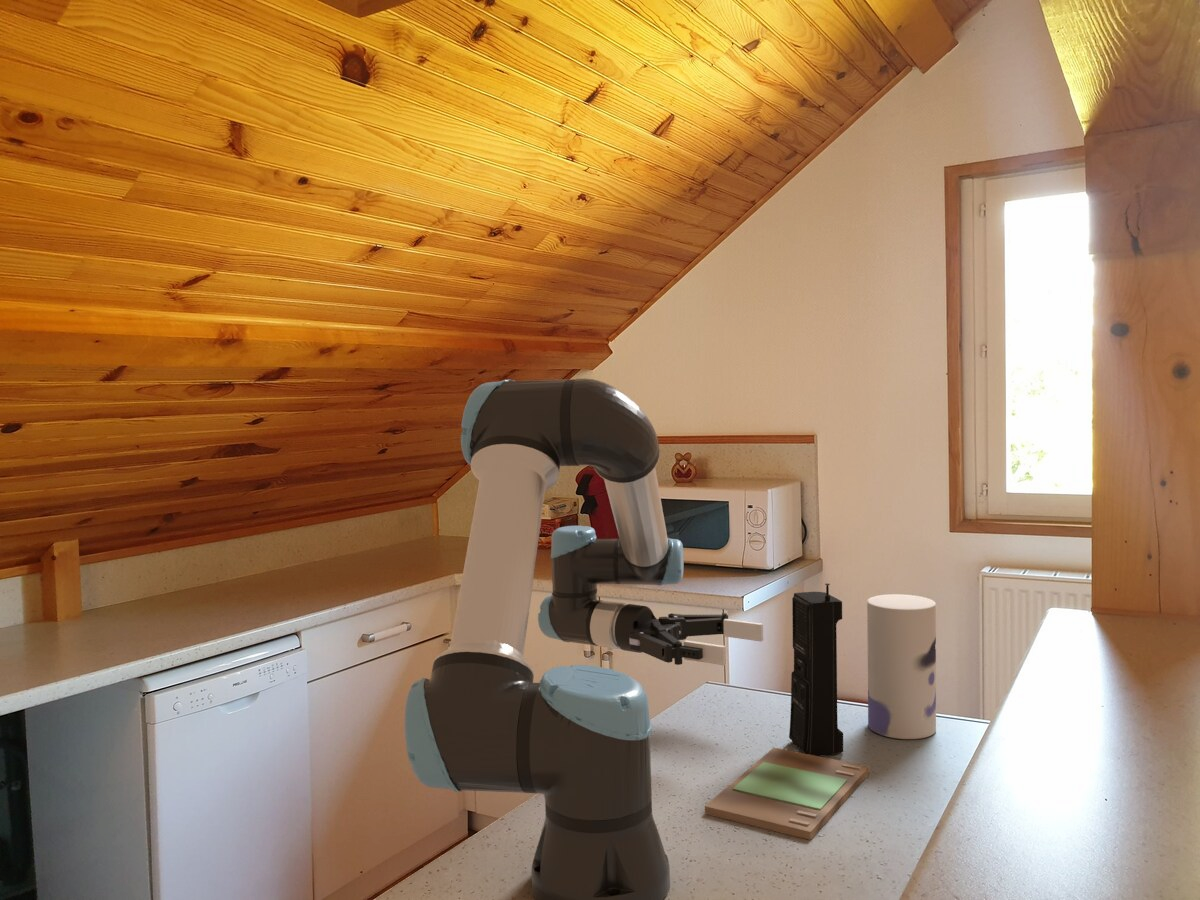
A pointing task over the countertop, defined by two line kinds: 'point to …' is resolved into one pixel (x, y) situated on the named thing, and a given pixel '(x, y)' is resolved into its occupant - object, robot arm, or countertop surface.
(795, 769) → the board
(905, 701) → the container
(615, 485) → the robot arm
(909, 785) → the countertop surface
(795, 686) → the portable radio
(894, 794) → the countertop surface
